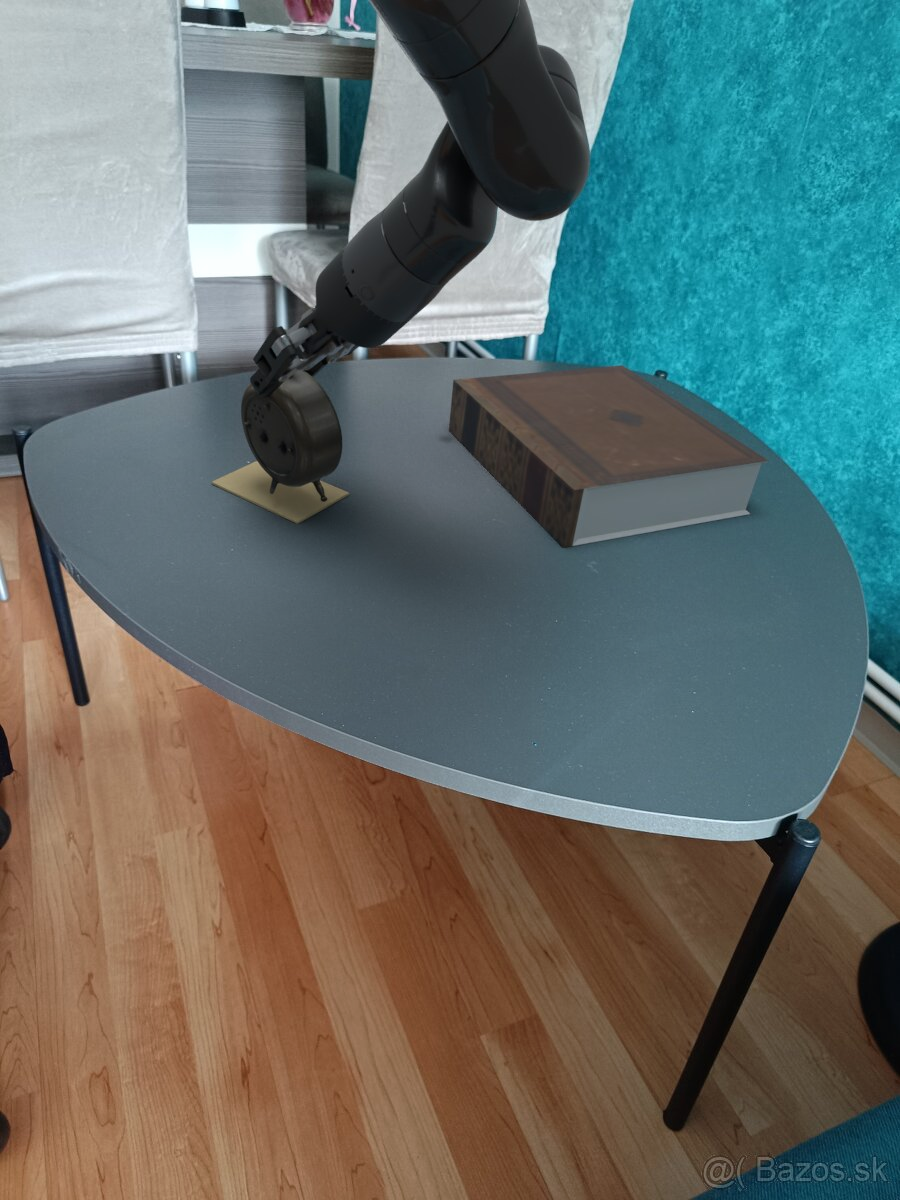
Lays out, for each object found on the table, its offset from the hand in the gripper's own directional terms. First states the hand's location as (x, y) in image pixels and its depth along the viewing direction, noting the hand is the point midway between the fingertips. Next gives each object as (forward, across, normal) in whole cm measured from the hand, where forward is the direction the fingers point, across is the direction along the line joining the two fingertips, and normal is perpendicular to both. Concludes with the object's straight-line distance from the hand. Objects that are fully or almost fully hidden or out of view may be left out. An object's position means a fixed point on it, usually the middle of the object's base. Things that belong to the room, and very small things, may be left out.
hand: (278, 380), depth 78 cm
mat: (+10, -2, +8) cm, 13 cm away
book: (-5, -30, +24) cm, 39 cm away
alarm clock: (+7, 0, +9) cm, 11 cm away
